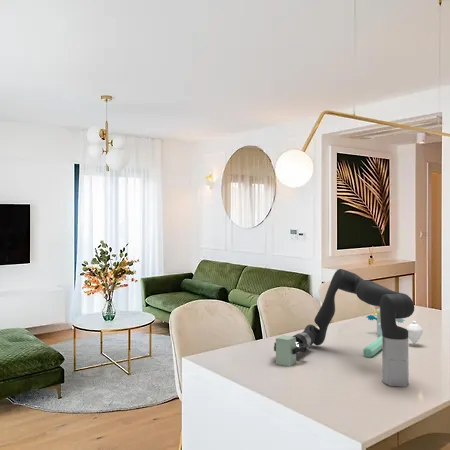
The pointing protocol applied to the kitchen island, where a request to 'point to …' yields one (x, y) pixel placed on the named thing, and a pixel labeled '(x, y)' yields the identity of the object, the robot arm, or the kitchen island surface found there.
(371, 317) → the character sculpture
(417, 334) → the spinning top
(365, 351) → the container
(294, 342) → the tall sage green box
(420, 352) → the kitchen island surface
